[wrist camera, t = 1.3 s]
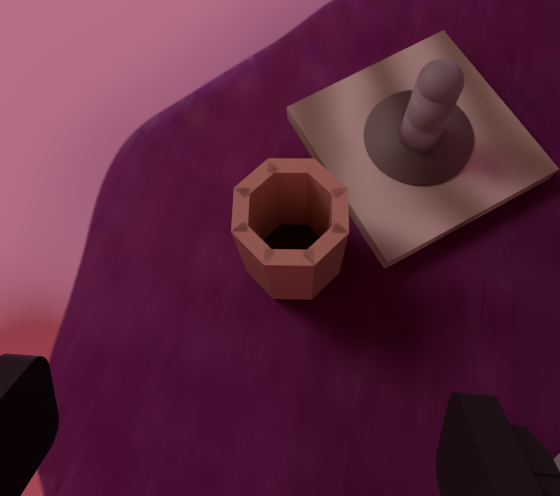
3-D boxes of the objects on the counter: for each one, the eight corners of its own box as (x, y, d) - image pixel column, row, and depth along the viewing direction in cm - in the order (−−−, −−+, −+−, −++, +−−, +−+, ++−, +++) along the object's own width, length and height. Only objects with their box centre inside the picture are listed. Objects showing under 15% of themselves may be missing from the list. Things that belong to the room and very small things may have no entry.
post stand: (438, 44, 40) (474, -57, 32) (549, 178, 36) (625, 104, 27) (287, 118, 38) (282, 33, 30) (384, 269, 34) (410, 220, 26)
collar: (338, 213, 36) (347, 158, 28) (339, 300, 34) (349, 266, 26) (249, 212, 36) (235, 158, 28) (245, 298, 34) (228, 264, 26)
